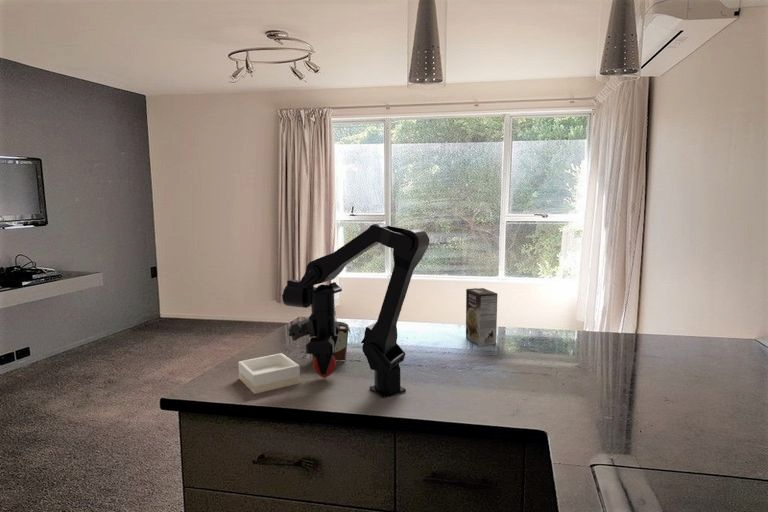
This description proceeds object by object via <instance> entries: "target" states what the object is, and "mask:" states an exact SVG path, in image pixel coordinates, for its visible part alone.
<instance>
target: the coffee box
mask: <svg viewBox="0 0 768 512" xmlns="http://www.w3.org/2000/svg"><path fill="white" fill-rule="evenodd" d="M465 291H466V292H465V293H466V295H465V296H466V297H465V302H466V303H465V338H466V339H467V340H469V341H471V342H472V343H474V344H475V345H477V346H479V347H480V346H487V345H488V346H490V345H496V344H497V323H498V321H497V319H498V293H497V292H495V291H492V290H489V289H486V288H485V287H480V288H479V287H478V288H477V287H475V288H466V290H465Z"/></svg>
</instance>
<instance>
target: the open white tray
mask: <svg viewBox="0 0 768 512" xmlns="http://www.w3.org/2000/svg"><path fill="white" fill-rule="evenodd" d="M238 372H239V373H238V379H239V380H240V381H241V382H242V383H243V384H244V385H245V386H246V388H248V389H249V390H250V392H252V394H254V395H256V394H259V393H265V392H268V391H271V390H276V389H281V388H285V387H289V386H293V385H298V384H301V377H300V375H301V369H300V365H299V364H298V363H297V362H295V361H293V360H292V359H291V358H290V357H288V356H286V355H285V354H284V353H281V352H280V353H276V354H270V355H265V356H260V357H254V358H249V359H244V360H240V361H238Z"/></svg>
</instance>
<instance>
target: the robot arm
mask: <svg viewBox="0 0 768 512" xmlns="http://www.w3.org/2000/svg"><path fill="white" fill-rule="evenodd" d="M378 244H381V245H383V246H385V247H387V248H389V249H393V251H392V257H393V264H394V265H393V269H392V272H391V275H390V279H389V282H388V285H387V288H386V292H385V296H384V298H383V301H382V304H381V308H380V311H379V314H378V317H377V320H376V322H374V323H372V324H370V325H368V326H366V327H365V330H364V335H363V338H362V340H361V341H360V344H362V348H361V350H362V353H363V354H364V356H365V357H366V359H367V363H368V365H369V369H370V370H372V371H374V372H373V373H374V385H370V386H369V387H368V388H369V390H371V391H372V392H374V393H375V394H377V395H379V396H380V397H382V398H387V397H391V396H395V395H397V394H402V393H405V392H407V389H406V388H405V387H404V386H402V385H401V367H400V364H401V363H403V362H404V360H405V356H406V352H405V351H404V350H403V349H402V347H401V346H400V345H399V344H398V343H397V341H398V328H397V323H398V322H399V321H398V320H399V317H400V315H401V311H402V308H403V304H404V301H405V298H406V295H407V292H408V290H409V289H408V288H409V286H410V283H411V280H412V277H413V274H414V271H415V269H416V267H417V266H418V264H419V263H420V262H421V260H422V259H423V257H424V255H426V254H425V253H426V252H427V249H428V247H429V245H430V237H429V235H428V233H427V232H426V231H425V230H424V229H422V228H418V227H416V228H411V229H408V228H403V227H397V226H392V225H388V224H385V223H381V222H379V223H373V224H371V225H370V226H369V227H368V228H367V229H366V230H364V231H363V232H361V233H360V234H358V235H357V236H356V237H354V238H353V239H351V240H350V241H348V242H347V243H345V244H344V245H342V246H341V247H339V248H338V249H336V250H335V251H334V252H331V253H329V254H327V255H324V256H322V257H321V256H320V257H319V258H316V259H314V260H312V261H310V262H308V264H307V265H306V269H305V273H304V274H303V276H302V278H301V279H300V280H298V279H294V278H293V279H292V278H291V279H288V280H287V281H286V286H285V287H284V289H283V293H282V295H281V296H282V302H283V304H284V305H285V306H287V307H296V308H304V309H305V308H306V309H307V308H309V307H311V308H310V309H311V313H310V315H309V317H308V318H306V319H303V320H300V321H297V322H294V323H291V324H290V326H289V327H288V336H289V337H291V339H292V341H293V342H294V341H297V340H298V339H301V338H303V337H305V336H306V337H307V336H308V335H309V340H308V341H307V343H306V345H305V353H306V354H307V355H312V354H313V355H314V356H315V357H316V359H317V362H318V366H319V369H320V373H321V375H325V374H326V372H327V369H328V366H329V363H330V360H331V357H332V355H333V352H334V349H335V345H336V342H337V339H338V336H334V335H335V332H336V335H337V334H339V324H337V323H336V322H335V321H336V314H337V313H336V311H337V310H335V308H336V307H335V306H336V305H335V294H338V293H339V292H342V291H343V289H342V287H340V286H339V285H338V284H337V282H335V281H333V282H330V283H329V284H323V283H327V282H329V281H332V280H334V279H336V278H337V277H338V276H339V274H341V273H342V271H343V270H344V269H345V267H346V266H347V265H348V264H350V263H351V262H352V261H354V260H356V259H357V258H359V257H360V256H361V255H363V254H365V253H366V252H367V251H369V250H370V249H372V248H374V247H375V246H377V245H378ZM316 285H318V286H316ZM315 286H316V287H315ZM314 336H315V338H311V339H310V337H314Z"/></svg>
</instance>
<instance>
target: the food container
mask: <svg viewBox="0 0 768 512" xmlns="http://www.w3.org/2000/svg"><path fill="white" fill-rule="evenodd" d="M335 322H336V323H337V324H339V334H337V335H336V332H335V335H334V336H338V339H337V342H336V345H335V349H334V352H333V356H334V357H335V360H345V361H347V351H348V337H349V334H351V330H350V329H351V328H350V327H349V324H348V323H346V322H342V321H337V320H335ZM311 338H315V336H314V337H309V340H310V339H311ZM311 357H312V361H313V360H314V358H315V356H314V355H313V354H311ZM345 361H344V362H345Z"/></svg>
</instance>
